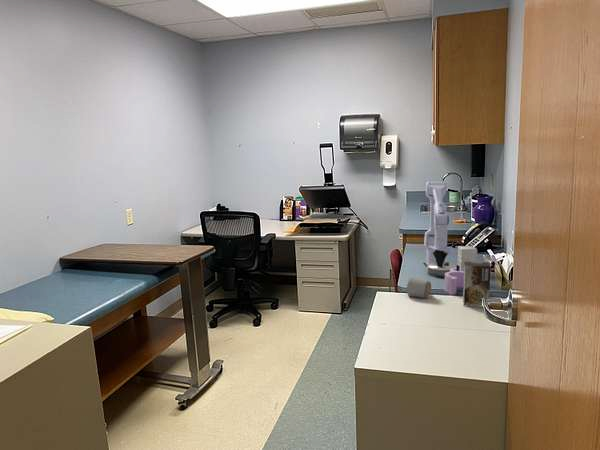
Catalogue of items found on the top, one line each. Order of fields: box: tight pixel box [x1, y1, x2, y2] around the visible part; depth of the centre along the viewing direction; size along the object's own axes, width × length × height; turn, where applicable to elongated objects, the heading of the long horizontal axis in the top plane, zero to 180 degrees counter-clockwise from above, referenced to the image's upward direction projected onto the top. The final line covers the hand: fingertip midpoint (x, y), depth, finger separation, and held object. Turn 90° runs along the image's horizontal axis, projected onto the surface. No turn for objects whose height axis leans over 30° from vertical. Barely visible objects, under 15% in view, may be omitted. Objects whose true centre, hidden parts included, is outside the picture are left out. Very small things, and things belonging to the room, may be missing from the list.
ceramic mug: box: [406, 276, 432, 299], centre depth 176 cm, size 11×8×8 cm
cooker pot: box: [424, 264, 460, 279], centre depth 209 cm, size 14×18×4 cm
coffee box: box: [462, 261, 492, 308], centre depth 164 cm, size 9×6×16 cm
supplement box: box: [457, 245, 478, 271], centre depth 212 cm, size 7×7×13 cm
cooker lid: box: [426, 261, 457, 271], centre depth 209 cm, size 14×14×2 cm
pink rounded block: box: [443, 268, 464, 296], centre depth 185 cm, size 20×12×7 cm, turn 162°
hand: (440, 266), depth 208 cm, fingers closed, pressing on cooker lid
